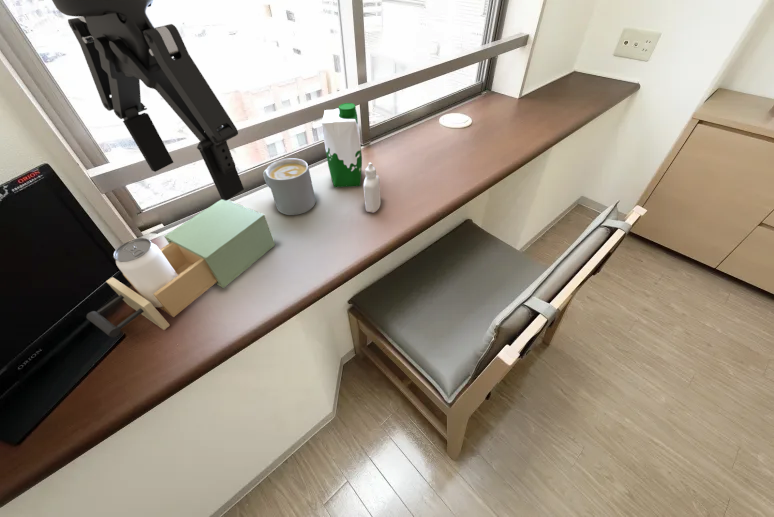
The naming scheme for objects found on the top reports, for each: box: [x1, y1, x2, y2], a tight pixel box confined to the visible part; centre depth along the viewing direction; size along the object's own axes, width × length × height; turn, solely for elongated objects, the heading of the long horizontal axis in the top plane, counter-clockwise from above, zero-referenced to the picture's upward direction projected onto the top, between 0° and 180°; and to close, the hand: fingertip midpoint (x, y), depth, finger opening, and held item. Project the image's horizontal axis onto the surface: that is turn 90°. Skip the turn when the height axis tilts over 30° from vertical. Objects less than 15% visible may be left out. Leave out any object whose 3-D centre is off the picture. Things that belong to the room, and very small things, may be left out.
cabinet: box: [163, 198, 276, 289], centre depth 71 cm, size 15×13×9 cm
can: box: [112, 237, 178, 308], centre depth 60 cm, size 6×6×12 cm
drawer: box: [86, 242, 218, 338], centre depth 62 cm, size 19×11×7 cm, turn 149°
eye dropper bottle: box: [363, 162, 382, 213], centre depth 81 cm, size 4×6×12 cm
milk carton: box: [321, 102, 363, 188], centre depth 87 cm, size 9×9×20 cm
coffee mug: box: [262, 157, 317, 216], centre depth 85 cm, size 13×10×10 cm
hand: (196, 179), depth 42 cm, fingers open, 13 cm apart
